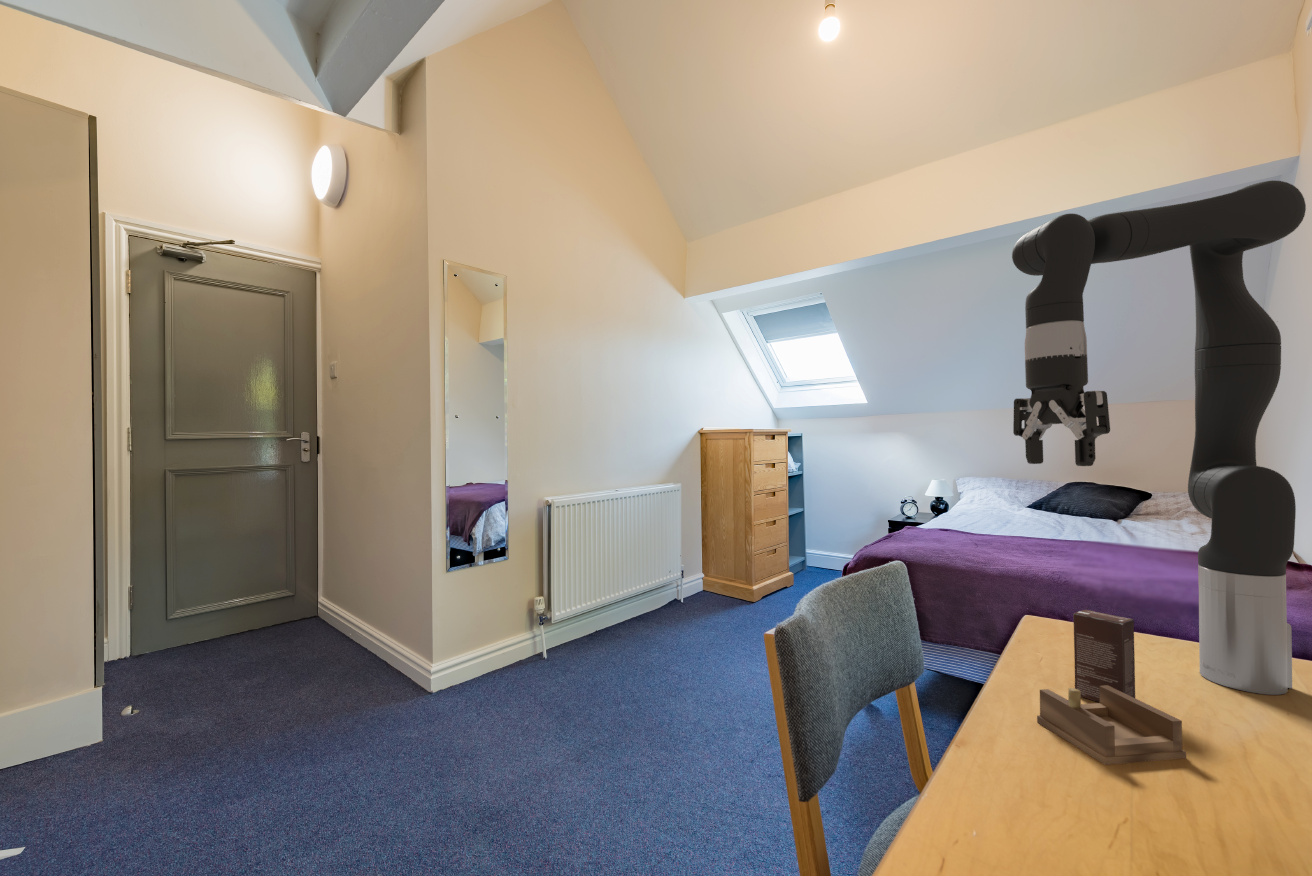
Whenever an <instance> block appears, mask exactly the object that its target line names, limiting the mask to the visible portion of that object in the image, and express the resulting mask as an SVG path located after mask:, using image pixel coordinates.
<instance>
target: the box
mask: <svg viewBox="0 0 1312 876" xmlns="http://www.w3.org/2000/svg"><path fill="white" fill-rule="evenodd" d="M1072 616H1073V644H1074V645H1073V647H1074V648H1073V649H1074V651H1073V652H1074V656H1073V657H1074V688H1075V689H1078V690H1080V691H1081V698H1085V699H1088V700H1091V701H1093V702H1096V703H1100V686H1104V685H1108V686H1110V687H1112V688H1114V689H1117V690H1119V691H1121V692H1123V693H1125V694H1127V695H1129V696H1131V697H1133V698H1135V699H1136V673H1135V672H1136V670H1135V668H1136V667H1135V665H1136V663H1135V662H1136V661H1135V658H1136V657H1135V621H1134V619H1133V618H1129V617H1123V616H1118V615H1113V614H1109V613H1104V612H1099V611H1094V610H1089V609H1084V610H1083V609H1082V610H1079V611H1077V612H1074V613H1073V615H1072Z"/></svg>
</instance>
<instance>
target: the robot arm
mask: <svg viewBox="0 0 1312 876" xmlns="http://www.w3.org/2000/svg"><path fill="white" fill-rule="evenodd" d="M1306 206H1307V205H1306V200H1305V197H1304V196H1303V193H1302V192H1301V191H1300V189H1299V188H1298V187H1297V186H1295V185H1293V184H1292V183H1289V182H1286V181H1282V180H1266V181H1261V182H1257V183H1253V184H1249V185H1247V186H1244V187H1242V188H1240V189H1238V190H1235V191H1233V192H1229V193H1224V194H1221V195H1218V196H1217V195H1216V196H1213V197H1208V198H1204V199H1200V200H1195V201H1194V200H1193V201H1188V202H1182V203H1177V204H1170V205H1166V206H1165V205H1164V206H1160V207H1151V208H1150V207H1149V208H1143V209H1136V210H1135V209H1134V210H1128V211H1122V212H1121V211H1120V212H1113V213H1106V214H1102V215H1099V216H1095V217H1093V218H1090V219H1086V218H1085V217H1084V216H1082V215H1081V214H1077V213H1065V214H1061V215H1059V216H1057V217H1056V216H1055V218H1052V219H1050V220H1049V221H1047V222H1045V223H1043V224H1041V225H1039V226H1037V227H1035V228H1032V230H1030V231H1028V232H1027V233H1024V235H1022V236H1021V237H1020V238H1019V239H1018V240H1017V241H1016V242H1015V244H1014V247H1012V253H1011V258H1012V259H1011V260H1012V262H1013V265H1014V266H1015V267H1016V269H1018V271H1020V272H1021V273H1024V274H1025V275H1028V276H1042V277H1041V280H1040V282H1039V283H1038V284H1037V285H1036V287H1033V289H1032V290H1030V292H1028V293H1027V295H1026V298H1025V302H1024V303H1025V304H1024V305H1025V307H1024V308H1025V311H1024V312H1025V339H1024V368H1025V387H1026V388H1027V389H1028V390H1030V392H1031V395H1030V398H1029V397H1025V398H1014V401H1013V422H1012V423H1013V427H1012V428H1013V435H1014V436H1017V437H1021V438H1022V439H1023V440H1024V441H1025V442H1024V443H1025V459H1026V461H1027V463H1028V464H1029V465H1040V464H1043V463H1044V441H1043V439H1042V438H1043V436H1044V435H1045V433H1046V431H1047V430H1048V429H1050V428H1051V427H1052V426H1053V425H1059V424H1061V425H1062V424H1063V426H1064V427H1065V428H1068V429H1069V430H1070V431H1071V433H1072V434H1073V435H1074V437H1075V438H1076V439H1074V456H1075V457H1074V459H1075V463H1074V464H1075V465H1076V466H1077V467H1091V466H1094V463H1095V460H1096V439H1097V438H1098V437H1100V436H1102V435H1108V434H1109V433H1110V432H1111V422H1110V414H1109V413H1110V412H1109V404H1108V403H1109V401H1108V394H1107V392H1106V391H1105V390H1089V391H1088V390H1087V391H1086V390H1084V389H1085V388H1084V386H1086V385H1088V384H1089V373H1088V372H1089V371H1088V369H1089V368H1088V340H1087V333H1086V327H1085V322H1084V321H1085V317H1084V316H1085V315H1084V314H1085V313H1084V296H1083V295H1084V291H1085V287H1086V284H1087V282H1088V277H1089V273H1090V270H1091V266H1092V265H1095V264H1104V263H1114V262H1121V261H1127V260H1134V259H1138V258H1143V257H1147V256H1153V255H1157V254H1160V253H1164V252H1168V251H1172V250H1176V249H1181V248H1184V247H1188V246H1189V253H1190V260H1191V261H1190V262H1191V267H1192V268H1191V269H1192V277H1193V285H1194V297H1195V298H1194V299H1195V301H1194V303H1195V304H1194V305H1195V340H1194V341H1195V342H1194V343H1195V345H1194V387H1195V388H1194V389H1195V390H1194V419H1195V421H1194V423H1195V427H1194V428H1195V429H1194V430H1195V431H1194V441H1193V450H1192V455H1191V464H1190V468H1189V469H1190V470H1189V475H1188V483H1187V493H1188V498H1189V501H1190V503H1191V504H1192V506H1193V507H1194V509H1195V510H1196V511H1197V512H1198V513H1200V514H1201V515H1202V516H1205V517H1207V518H1209V519H1211V524H1210V525H1211V529H1210V539H1209V540H1208V542H1206V544H1204V545H1202V546H1200V547H1199V549H1198V552H1197V565H1198V566H1197V568H1198V569H1197V571H1198V572H1197V573H1198V575H1197V576H1198V581H1197V582H1198V626H1199V627H1198V632H1199V633H1198V636H1199V637H1198V639H1199V645H1198V646H1199V647H1198V648H1199V653H1198V654H1199V656H1198V657H1199V674H1200V675H1201V676H1202V677H1203V678H1205V679H1206V680H1208V681H1210V682H1213V683H1215V684H1218V685H1220V686H1224V687H1227V688H1230V689H1234V690H1237V691H1238V690H1239V691H1241V692H1242V691H1243V692H1247V693H1253V694H1260V695H1268V696H1269V695H1273V696H1276V695H1277V696H1280V695H1285V694H1287V692H1288V691H1289V689H1293V650H1292V647H1293V645H1292V644H1293V643H1292V639H1293V638H1292V626H1291V624H1290V623H1288V622H1287V620H1288V619H1287V618H1288V615H1287V612H1288V611H1287V610H1288V607H1287V575H1286V574H1287V564H1288V562H1289V560H1290V558H1292V555H1293V552H1294V548H1295V547H1294V546H1295V536H1296V535H1295V532H1296V516H1297V515H1296V511H1297V510H1296V499H1295V492H1294V490H1293V487H1292V485H1291V483H1290V482H1289V480H1288V479H1287V478H1285V476H1283V474H1281V473H1279V472H1278V471H1276V470H1273V469H1271V468H1269V467H1265V466H1260V465H1257V452H1256V446H1257V445H1256V444H1257V441H1256V440H1257V433H1258V429H1259V426H1260V423H1261V421H1262V419H1263V416H1264V414H1265V413H1266V411H1267V408H1268V407H1269V405H1270V403H1271V401H1272V399H1273V397H1274V395H1275V392H1276V390H1277V387H1278V385H1279V381H1280V376H1281V369H1282V337H1281V332H1280V329H1279V327H1278V326H1277V324H1276V323H1275V321H1274V320H1273V318H1272V317H1271V316H1270V315H1269V314H1268V312H1267V311H1266V310H1265V309H1264V308H1263V307H1262V306H1261V305H1260V304H1259V303H1258V301H1256V300H1255V298H1254V297H1253V296H1252V294H1250V292H1249V291H1248V288H1247V286H1246V283H1245V280H1244V279H1245V278H1244V270H1243V258H1244V257H1243V256H1244V252H1246V251H1250V250H1253V249H1256V248H1259V247H1263V246H1266V245H1269V244H1272V243H1276V241H1280V240H1281V239H1284V238H1285V237H1287V236H1289V235H1290V234H1291V233H1293V232H1295V231H1296V229H1298V228H1299V227H1300V225H1301V224H1302V222H1303V220H1304V218H1305V215H1306V209H1307V207H1306ZM1097 420H1098V421H1097ZM1023 421H1024V423H1023ZM1288 688H1289V689H1288Z"/></svg>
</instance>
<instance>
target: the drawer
mask: <svg viewBox="0 0 1312 876" xmlns="http://www.w3.org/2000/svg"><path fill="white" fill-rule="evenodd" d="M1067 691H1068V696H1067V697H1068V699H1067V698H1065V697H1064V696H1062V695H1060V694H1058V693H1056V692H1054V691H1052V690H1050V689H1049V688H1043V689H1039V715H1036V722H1037V724H1039V725H1041V726H1043V727H1044V728H1046V729H1047V730H1049V731H1050V732H1052V733H1054V734H1055V735H1057V736H1058V737H1059V738H1061V739H1063V740H1065V741H1066V742H1067V743H1069V744H1071V745H1072V746H1074V747H1075V748H1077V749H1079V750H1081V751H1083V752H1084V753H1085V754H1087V755H1089V756H1090V757H1092V758H1093V759H1095V760H1097V761H1098V762H1099V763H1101V764H1103V765H1104V766H1108V765H1119V764H1120V765H1121V764H1132V763H1134V764H1135V763H1145V762H1155V761H1170V760H1181V759H1187V751H1186V750H1184V749H1183V721H1182V719H1179V718H1177V717H1175V716H1174V715H1171V714H1169V713H1167V712H1164V711H1162V710H1160V709H1158V708H1156V707H1154V706H1152V705H1150V704H1148V703H1145V702H1144V701H1141V700H1139V699H1138V698H1136V697H1135V698H1133V697H1131V696H1129V695H1127V694H1125V693H1123V692H1121V691H1119V690H1117V689H1114V688H1112V687H1110V686H1108V685H1104V686H1100V702H1095V703H1094V702H1093V703H1082V704H1081V702H1082V701H1081V698H1082V697H1081V691H1080V690H1078V689H1075V687H1069V688H1068V689H1067Z"/></svg>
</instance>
